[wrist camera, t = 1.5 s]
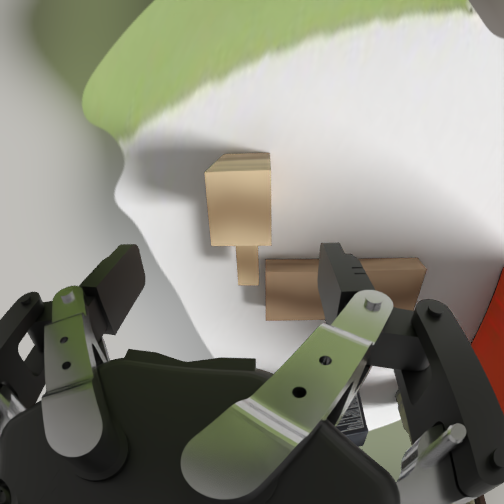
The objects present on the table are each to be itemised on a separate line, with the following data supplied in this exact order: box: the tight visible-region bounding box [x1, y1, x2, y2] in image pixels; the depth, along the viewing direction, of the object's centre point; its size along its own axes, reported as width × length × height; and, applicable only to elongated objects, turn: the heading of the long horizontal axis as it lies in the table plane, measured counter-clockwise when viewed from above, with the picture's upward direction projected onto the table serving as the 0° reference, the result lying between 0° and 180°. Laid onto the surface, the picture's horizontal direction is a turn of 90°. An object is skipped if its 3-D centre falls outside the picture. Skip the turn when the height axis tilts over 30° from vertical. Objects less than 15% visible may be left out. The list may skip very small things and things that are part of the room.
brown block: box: [265, 258, 427, 321], centre depth 28 cm, size 6×17×2 cm, turn 92°
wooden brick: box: [204, 153, 271, 285], centre depth 22 cm, size 11×4×8 cm, turn 2°
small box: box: [336, 390, 368, 447], centre depth 34 cm, size 11×6×10 cm, turn 102°
